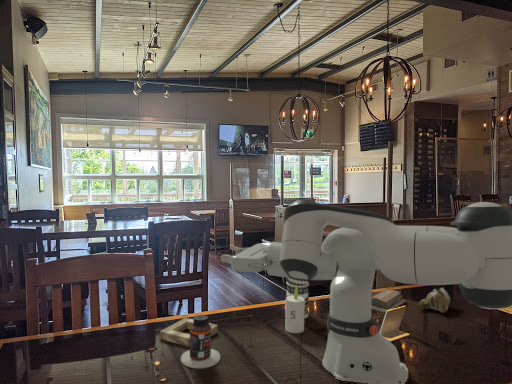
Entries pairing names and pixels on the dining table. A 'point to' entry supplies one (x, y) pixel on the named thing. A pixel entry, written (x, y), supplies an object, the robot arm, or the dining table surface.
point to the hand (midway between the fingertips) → (229, 254)
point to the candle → (294, 313)
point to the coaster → (197, 364)
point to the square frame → (176, 335)
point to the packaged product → (386, 300)
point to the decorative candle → (302, 291)
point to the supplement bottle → (200, 338)
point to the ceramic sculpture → (436, 300)
